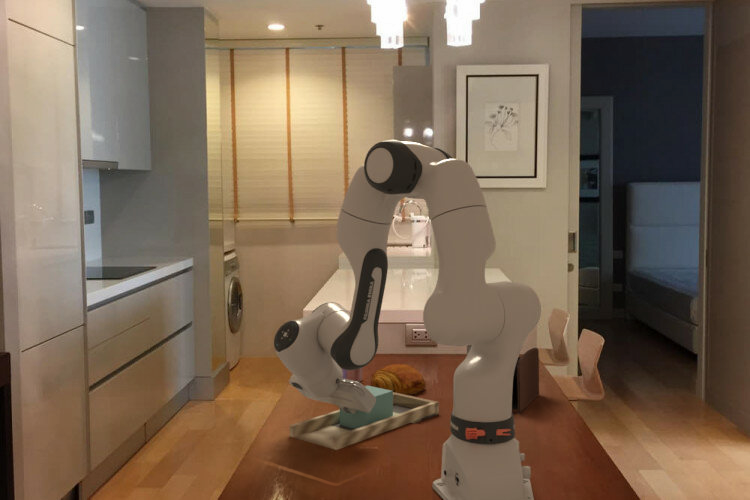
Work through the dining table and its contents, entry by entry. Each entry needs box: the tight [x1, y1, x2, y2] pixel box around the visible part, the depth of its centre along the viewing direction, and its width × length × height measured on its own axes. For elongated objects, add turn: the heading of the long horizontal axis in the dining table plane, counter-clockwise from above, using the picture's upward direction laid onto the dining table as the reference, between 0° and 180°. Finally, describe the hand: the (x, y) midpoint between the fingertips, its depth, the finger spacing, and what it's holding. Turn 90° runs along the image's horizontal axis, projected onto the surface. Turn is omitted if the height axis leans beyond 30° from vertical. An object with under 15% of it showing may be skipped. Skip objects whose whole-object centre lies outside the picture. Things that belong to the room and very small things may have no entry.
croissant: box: [370, 363, 427, 396], centre depth 228 cm, size 14×16×8 cm
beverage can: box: [341, 367, 363, 383], centre depth 238 cm, size 6×6×15 cm
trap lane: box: [288, 392, 440, 451], centre depth 195 cm, size 38×14×3 cm, turn 140°
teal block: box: [339, 385, 393, 429], centre depth 195 cm, size 10×8×8 cm
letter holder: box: [512, 347, 540, 414], centre depth 216 cm, size 10×20×14 cm, turn 155°
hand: (351, 410), depth 191 cm, fingers closed
